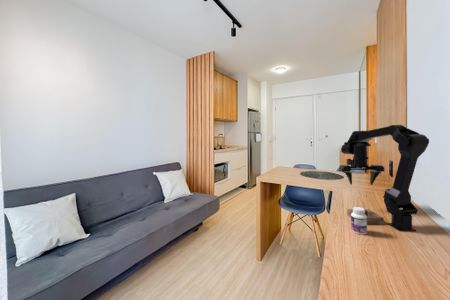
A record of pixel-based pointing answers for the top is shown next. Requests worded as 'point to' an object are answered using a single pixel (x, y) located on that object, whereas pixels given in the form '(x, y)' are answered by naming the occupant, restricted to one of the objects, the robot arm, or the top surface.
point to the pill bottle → (359, 221)
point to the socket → (369, 216)
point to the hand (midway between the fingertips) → (361, 184)
